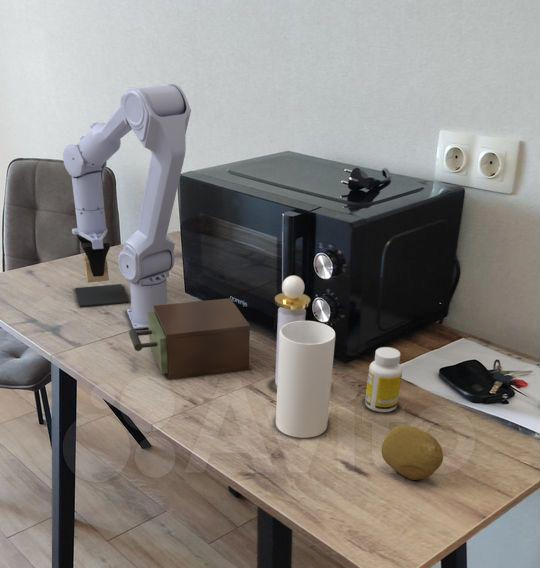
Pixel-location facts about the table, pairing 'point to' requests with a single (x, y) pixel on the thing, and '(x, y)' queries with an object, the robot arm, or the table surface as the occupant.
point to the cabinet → (204, 337)
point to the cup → (304, 378)
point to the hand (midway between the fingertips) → (96, 271)
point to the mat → (101, 295)
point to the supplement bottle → (384, 380)
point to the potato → (412, 452)
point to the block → (89, 274)
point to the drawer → (153, 341)
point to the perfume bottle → (290, 307)
